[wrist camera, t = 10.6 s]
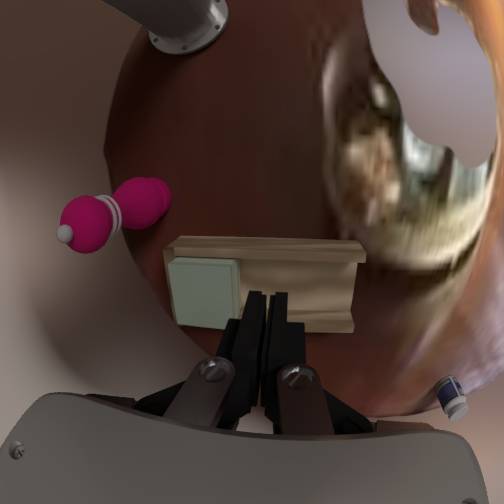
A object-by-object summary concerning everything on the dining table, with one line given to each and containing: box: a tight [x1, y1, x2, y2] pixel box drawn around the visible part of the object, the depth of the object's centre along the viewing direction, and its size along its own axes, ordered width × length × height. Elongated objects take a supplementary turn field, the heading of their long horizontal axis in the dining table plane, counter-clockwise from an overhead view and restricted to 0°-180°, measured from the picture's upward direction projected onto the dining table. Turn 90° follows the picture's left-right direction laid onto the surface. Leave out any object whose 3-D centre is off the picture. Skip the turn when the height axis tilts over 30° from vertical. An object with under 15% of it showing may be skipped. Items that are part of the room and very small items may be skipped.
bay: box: [163, 236, 366, 333], centre depth 38 cm, size 12×26×6 cm, turn 91°
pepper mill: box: [57, 177, 171, 254], centre depth 30 cm, size 7×7×20 cm
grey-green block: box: [168, 256, 241, 329], centre depth 38 cm, size 9×8×6 cm
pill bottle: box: [435, 376, 468, 421], centre depth 39 cm, size 6×6×10 cm
